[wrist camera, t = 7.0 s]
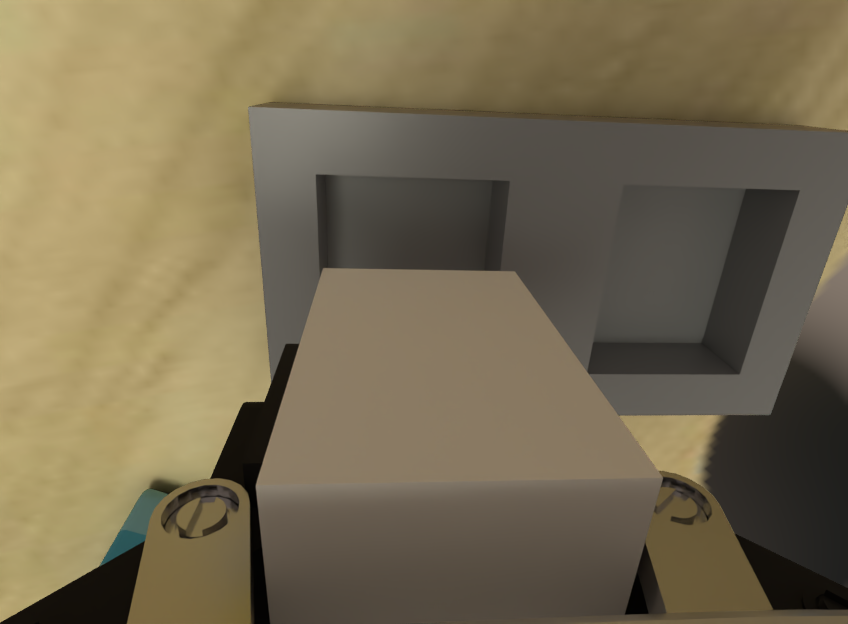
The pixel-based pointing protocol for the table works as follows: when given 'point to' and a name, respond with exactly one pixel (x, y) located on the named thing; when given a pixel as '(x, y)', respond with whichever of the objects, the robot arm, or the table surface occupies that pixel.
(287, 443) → the plug
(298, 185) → the grey socket block
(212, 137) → the table surface
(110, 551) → the data package
